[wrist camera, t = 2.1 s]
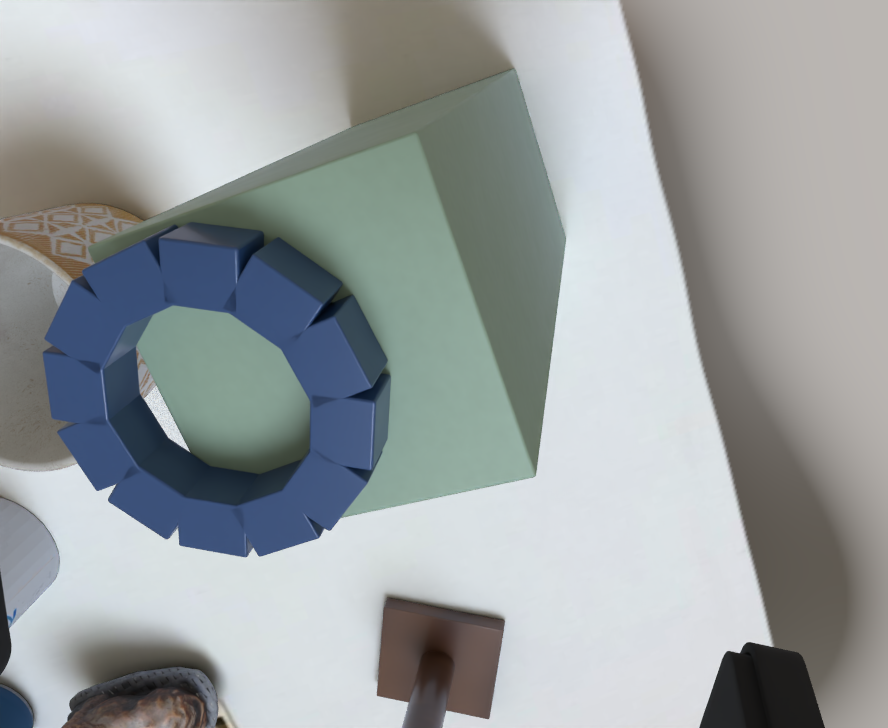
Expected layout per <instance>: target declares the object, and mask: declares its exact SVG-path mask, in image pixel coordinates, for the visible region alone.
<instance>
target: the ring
mask: <svg viewBox="0 0 888 728" xmlns="http://www.w3.org/2000/svg"><path fill="white" fill-rule="evenodd" d="M82 274H83V275H82V276H80V277H78V278H76V279H74V280H72V281H71V283H70V285H69V287H68V289H67V291H66V294H65V296H64V298H63V300H62V302H61V304H60V306H59V308H58V310H57V312H56V314H55V317H54V319H53V321H52V323H51V325H50V327H49V329H48V331H47V333H46V335H45V338H44V339H45V340H46V341H47V342H49V343H50V344H52V345H53V346H51V347H50V348H48V349H46V350H45V351H43V361H44V368H45V375H46V382H47V389H48V397H49V404H50V411H51V417H52V419H54V420H61V421H67V422H68V423H67V424H66V425H64V426H63V427H62V428H60V429H59V430H58V431H57V433H58V435H59V436H60V438H61V439H62V441H63V442H64V444H65V445H66V447H67V448H68V450H69V451H70V453H71V454H72V455H73V457H74V458H75V460H76V461H77V463H78V464H79V466H80V467H81V469H82V470H83V472H84V473H85V475H86V476H87V478H88V479H89V480H90V482H91V483H92V485H93V486H94V488H95V489H96V490H97V491H99V490H102V489H105V488H107V487H110V486H113V485H115V484H116V486H115V488H114V490H113V491H112V493H111V495H110V496H109V498H108V501H109V502H110V503H111V504H113V505H114V506H116V507H117V508H119V509H121V510H122V511H124V512H125V513H127V514H128V515H130V516H131V517H133V518H134V519H136V520H137V521H139V522H140V523H142V524H143V525H145V526H146V527H148V528H150V529H151V530H153V531H154V532H156V533H157V534H159V535H160V536H162V537H163V538H165V539H168V538H170V537H171V536H172V534H173V533H174V532H175V531H176V529H177V528H178V531H179V545H180V546H185V547H190V548H196V549H202V550H207V551H213V552H218V553H224V554H230V555H235V556H241V557H247V556H248V555H249V553H250V551H251V550H252V548H254V549H255V551H256V552H257V554H258V556H264V555H267V554H270V553H273V552H276V551H279V550H283V549H286V548H289V547H292V546H295V545H298V544H302V543H305V542H308V541H311V540H314V539H317V538H319V537H320V536H321V534H322V532H323V530H324V528H325V529H327V530H329V531H330V530H331V529H332V528H333V527H334V525H335V524H336V523H337V522H338V520H339V519H340V518H341V517H342V515H343V514H344V513H345V512H346V510H347V509H348V508H349V506H350V505H351V504H352V503H353V501H354V500H355V499H356V498H357V496H358V495H359V494H360V493H361V491H362V490H363V489H364V488H365V486H366V485H367V484H368V482H369V480H370V478H371V476H372V474H373V472H374V470H375V468H376V465H377V463H378V461H379V459H380V457H381V455H382V453H383V451H382V449H383V447H384V445H385V443H386V441H387V439H388V422H389V405H390V387H391V376H390V375H389V374H383V373H381V372H382V370H383V369H384V367H385V365H386V364H387V362H388V360H387V358H386V356H385V354H384V352H383V350H382V348H381V346H380V344H379V343H378V341H377V339H376V337H375V335H374V333H373V331H372V329H371V327H370V325H369V323H368V321H367V319H366V317H365V316H364V314H363V312H362V310H361V308H360V306H359V304H358V302H357V300H356V298H355V296H354V295H350V296H347V297H345V298H342V299H340V300H338V301H335V302H333V303H331V302H332V300H333V299H334V297H335V296H336V294H337V293H338V291H339V290H340V288H341V287H342V285H343V283H342V282H341V281H340V280H339V279H337V278H336V277H334V276H333V275H332V274H330V273H329V272H327V271H326V270H325V269H323V268H322V267H320V266H319V265H318V264H316V263H315V262H313V261H312V260H311V259H309V258H308V257H306V256H305V255H303V254H302V253H301V252H299V251H298V250H296V249H295V248H294V247H292V246H291V245H289V244H288V243H287V242H285V241H284V240H282V239H281V238H279V237H277V238H276V239H274V240H273V241H271V242H270V243H268V244H267V245H266V246H264V233H263V232H262V231H259V230H251V229H243V228H235V227H227V226H219V225H211V224H203V223H195V222H190V223H188V224H186V225H184V226H182V227H180V228H178V226H177V225H172V226H170V227H167V228H165V229H163V230H161V231H159V232H157V233H155V234H153V235H151V236H149V237H147V238H145V239H143V240H141V241H139V242H137V243H135V244H133V245H131V246H129V247H127V248H125V249H123V250H121V251H119V252H117V253H115V254H113V255H111V256H109V257H107V258H105V259H103V260H101V261H99V262H97V263H95V264H93V265H91V266H89V267H87V268H85V269H83V270H82ZM330 303H331V304H330ZM171 306H181V307H188V308H195V309H202V310H209V311H217V312H224V313H229V314H231V315H232V316H234V317H235V318H237V319H238V320H239V321H241V322H242V323H244V324H245V325H247V326H248V327H250V328H251V329H252V330H254V331H255V332H257V333H258V334H260V335H261V336H263V337H264V338H265V339H267V340H268V341H270V342H271V343H273V344H274V345H275V346H277V347H278V348H280V349H281V350H282V352H283V354H284V356H285V357H286V359H287V361H288V363H289V365H290V366H291V368H292V370H293V372H294V374H295V375H296V377H297V379H298V381H299V382H300V384H301V386H302V388H303V390H304V391H305V393H306V395H307V397H308V398H309V400H310V449H309V450H308V451H307V453H306V454H305V456H304V457H303V458H302V459H301V460H298V461H295V462H293V463H290V464H287V465H284V466H281V467H279V468H276V469H273V470H270V471H267V472H265V473H262V474H256V473H250V472H244V471H238V470H232V469H226V468H219V467H213V466H209V465H208V464H206V463H205V462H203V461H202V460H200V459H199V458H197V457H196V456H194V455H193V454H191V453H190V452H189V451H187V450H186V449H184V448H183V447H181V446H180V445H178V444H177V443H175V442H174V441H172V440H171V439H169V438H168V437H167V435H166V434H165V432H164V430H163V429H162V427H161V426H160V424H159V422H158V421H157V419H156V418H155V416H154V415H153V413H152V411H151V410H150V408H149V407H148V405H147V403H146V402H145V400H144V399H143V397H142V396H141V394H140V387H139V376H138V364H137V353H136V345H137V343H138V341H139V340H140V338H141V336H142V334H143V332H144V331H145V329H146V327H147V325H148V323H149V321H150V320H151V318H152V316H153V315H154V314H156V313H158V312H160V311H163V310H165V309H167V308H169V307H171Z"/></svg>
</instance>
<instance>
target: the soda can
mask: <svg viewBox="0 0 888 728" xmlns="http://www.w3.org/2000/svg"><path fill="white" fill-rule="evenodd" d="M0 728H33V712H32V710H31V708H30V706H29V704H28V703H27V701H26V700H25V699H24V698H23V697H22V696H21V695H20V694H19V693H17V692H16V691H14V690H13V689H11V688H9V687H7V686H5V685H2V684H0Z"/></svg>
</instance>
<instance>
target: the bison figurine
mask: <svg viewBox="0 0 888 728" xmlns="http://www.w3.org/2000/svg"><path fill="white" fill-rule="evenodd" d="M217 702H218V698H217V694H216V691H215V689H214V687H213V685H212V683H211V682H210V681H209V679H208V677H207V676H206V675H205V674H204V673H203V672H201V671H200V670H198V669H187V668H184V667H172V668H164V669H157V670H151V671H140V672H135V673H131V674H128V675H126V676H124V677H120V678H117V679H114V680H111V681H108V682H105V683H101V684H97V685H94V686H92V687H90V688H88V689H85V690H82V691H80V692H79V693H77V694H76V695H75V696H74V697H73V698H72V699H71V700H70V703H69V706H70V709H71V711H72V712H71V713H70V714H69V716H68V722H67V723H66V724H65V725H63V727H62V728H215V725H216V721H217V716H218V703H217Z"/></svg>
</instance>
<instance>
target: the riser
mask: <svg viewBox="0 0 888 728" xmlns="http://www.w3.org/2000/svg"><path fill="white" fill-rule="evenodd" d="M190 222H195V223H203V224H211V225H219V226H227V227H235V228H243V229H251V230H259V231H262V232H263V233H264V246H266V245H267V244H268V243H270V242H271V241H273V240H274V239H276V238H277V237H279V238H281V239H282V240H284V241H285V242H287V243H288V244H289V245H291V246H292V247H294V248H295V249H296V250H298V251H299V252H301V253H302V254H303V255H305V256H306V257H308V258H309V259H311V260H312V261H313V262H315V263H316V264H318V265H319V266H320V267H322V268H323V269H325V270H326V271H327V272H329V273H330V274H332V275H333V276H334V277H336V278H337V279H339V280H340V281H341V282H342V283H343V285H342V287H341V288H340V290H339V291H338V293H337V294H336V296H335V297H334V299H333V300H332V302H331V303H333V302H335V301H338V300H340V299H342V298H345V297H347V296H350V295H354V296H355V298H356V300H357V302H358V304H359V306H360V308H361V310H362V312H363V314H364V316H365V317H366V319H367V321H368V323H369V325H370V327H371V329H372V331H373V333H374V335H375V337H376V339H377V341H378V343H379V344H380V346H381V348H382V350H383V352H384V354H385V356H386V358H387V360H388V362H387V364H386V365H385V367H384V369H383V370H382V372H381V373H383V374H389V375H390V376H391V387H390V405H389V422H388V439H387V441H386V443H385V445H384V447H383V449H382V451H383V453H382V455H381V457H380V459H379V461H378V463H377V465H376V468H375V470H374V472H373V474H372V476H371V478H370V480H369V482H368V484H367V485H366V486H365V488H364V489H363V490H362V491H361V493H360V494H359V495H358V496H357V498H356V499H355V500H354V501H353V503H352V504H351V505H350V506H349V508H348V509H347V510H346V512H345V513H344V514H343V515H342V517H341V518H343V517H348V516H352V515H357V514H362V513H367V512H371V511H376V510H381V509H386V508H390V507H395V506H400V505H405V504H409V503H414V502H419V501H423V500H428V499H433V498H438V497H442V496H447V495H452V494H457V493H461V492H466V491H471V490H476V489H480V488H485V487H490V486H495V485H499V484H504V483H509V482H514V481H518V480H523V479H528V478H533V477H535V476H536V470H537V462H538V455H539V447H540V439H541V431H542V423H543V416H544V408H545V400H546V392H547V384H548V377H549V369H550V361H551V353H552V345H553V337H554V330H555V322H556V314H557V306H558V298H559V291H560V283H561V275H562V267H563V259H564V251H565V244H566V237H565V234H564V230H563V227H562V224H561V220H560V217H559V214H558V210H557V207H556V203H555V200H554V197H553V193H552V190H551V187H550V183H549V180H548V177H547V173H546V170H545V167H544V163H543V160H542V157H541V153H540V150H539V146H538V143H537V140H536V136H535V133H534V130H533V126H532V123H531V120H530V116H529V113H528V110H527V106H526V103H525V99H524V96H523V93H522V89H521V86H520V83H519V79H518V76H517V73H516V70H515V69H511V70H508V71H505V72H503V73H500V74H497V75H494V76H492V77H489V78H486V79H483V80H481V81H478V82H475V83H472V84H470V85H467V86H464V87H461V88H459V89H456V90H453V91H450V92H447V93H445V94H442V95H439V96H436V97H434V98H431V99H428V100H425V101H423V102H420V103H417V104H414V105H412V106H409V107H406V108H403V109H401V110H398V111H395V112H392V113H390V114H387V115H384V116H381V117H379V118H376V119H373V120H370V121H368V122H365V123H362V124H359V125H357V126H354V127H351V128H349V129H347V130H345V131H342V132H340V133H338V134H336V135H334V136H331V137H329V138H327V139H325V140H322V141H320V142H318V143H316V144H314V145H311V146H309V147H307V148H305V149H303V150H300V151H298V152H296V153H294V154H292V155H289V156H287V157H285V158H283V159H280V160H278V161H276V162H274V163H272V164H269V165H267V166H265V167H263V168H261V169H258V170H256V171H254V172H252V173H249V174H247V175H245V176H243V177H241V178H238V179H236V180H234V181H232V182H230V183H227V184H225V185H223V186H221V187H219V188H216V189H214V190H212V191H210V192H207V193H205V194H203V195H201V196H199V197H196V198H194V199H192V200H190V201H188V202H185V203H183V204H181V205H179V206H176V207H174V208H172V209H170V210H168V211H165V212H163V213H161V214H159V215H157V216H154V217H152V218H150V219H148V220H146V221H143V222H141V223H139V224H137V225H134V226H132V227H130V228H128V229H126V230H123V231H121V232H119V233H117V234H115V235H112V236H110V237H108V238H106V239H104V240H101V241H99V242H97V243H95V244H92V245H90V246H89V247H88V251H89V253H90V255H91V257H92V259H93V261H94V263H97V262H99V261H101V260H103V259H105V258H107V257H109V256H111V255H113V254H115V253H117V252H119V251H121V250H123V249H125V248H127V247H129V246H131V245H133V244H135V243H137V242H139V241H141V240H143V239H145V238H147V237H149V236H151V235H153V234H155V233H157V232H159V231H161V230H163V229H165V228H167V227H170V226H172V225H177V226H178V228H180V227H182V226H184V225H186V224H188V223H190ZM331 303H330V304H331ZM136 346H137V348H138V350H139V352H140V354H141V356H142V358H143V360H144V362H145V364H146V366H147V368H148V370H149V372H150V374H151V375H152V377H153V379H154V381H155V383H156V385H157V387H158V389H159V391H160V393H161V395H162V397H163V399H164V401H165V403H166V405H167V407H168V409H169V411H170V413H171V415H172V417H173V419H174V421H175V423H176V425H177V427H178V429H179V431H180V433H181V435H182V437H183V439H184V441H185V443H186V444H187V446H188V448H189V450H190V452H191V454H193V455H194V456H196V457H197V458H199V459H200V460H202V461H203V462H205V463H206V464H208V465H209V466H213V467H219V468H226V469H232V470H238V471H244V472H250V473H256V474H262V473H265V472H267V471H270V470H273V469H276V468H279V467H281V466H284V465H287V464H290V463H293V462H295V461H298V460H301V459H302V458H303V457H304V456H305V454H306V453H307V451H308V450H309V449H310V400H309V398H308V397H307V395H306V393H305V391H304V390H303V388H302V386H301V384H300V382H299V381H298V379H297V377H296V375H295V374H294V372H293V370H292V368H291V366H290V365H289V363H288V361H287V359H286V357H285V356H284V354H283V352H282V350H281V349H280V348H278V347H277V346H275V345H274V344H273V343H271V342H270V341H268V340H267V339H265V338H264V337H263V336H261V335H260V334H258V333H257V332H255V331H254V330H252V329H251V328H250V327H248V326H247V325H245V324H244V323H242V322H241V321H239V320H238V319H237V318H235V317H234V316H232V315H231V314H229V313H224V312H217V311H209V310H202V309H195V308H188V307H181V306H171V307H169V308H167V309H165V310H163V311H160V312H158V313H156V314H154V315H153V316H152V318H151V320H150V321H149V323H148V325H147V327H146V329H145V331H144V332H143V334H142V336H141V338H140V340H139V341H138V343H137V345H136Z"/></svg>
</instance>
